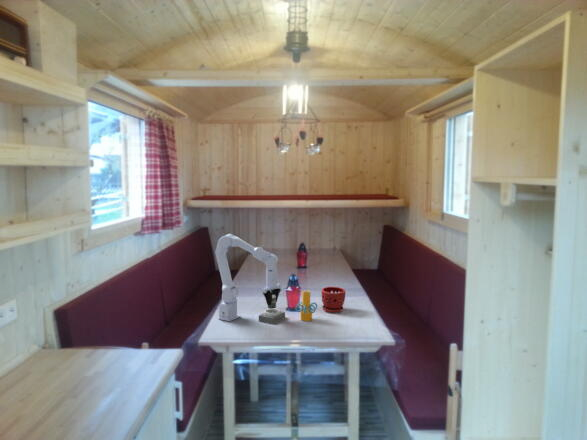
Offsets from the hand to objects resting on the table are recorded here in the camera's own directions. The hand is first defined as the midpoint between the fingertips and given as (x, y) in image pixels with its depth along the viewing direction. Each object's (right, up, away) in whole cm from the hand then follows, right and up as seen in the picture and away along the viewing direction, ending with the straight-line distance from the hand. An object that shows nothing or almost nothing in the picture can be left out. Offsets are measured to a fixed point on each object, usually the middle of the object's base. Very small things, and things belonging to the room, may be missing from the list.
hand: (271, 303), depth 226 cm
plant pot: (+33, -7, +15) cm, 37 cm away
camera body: (0, -8, +1) cm, 8 cm away
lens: (0, -2, 0) cm, 2 cm away
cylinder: (+18, -9, 0) cm, 20 cm away
